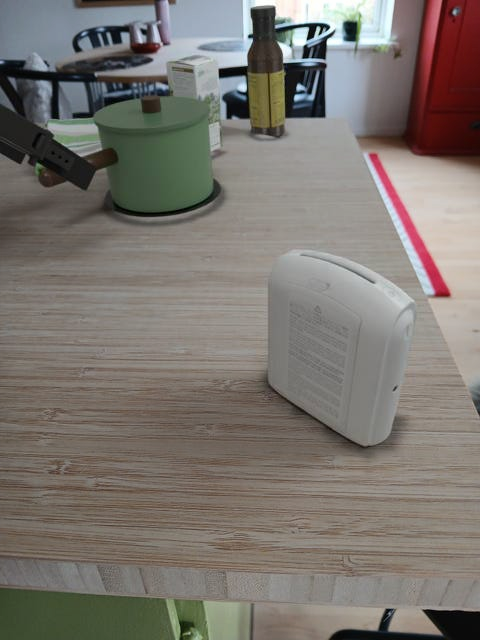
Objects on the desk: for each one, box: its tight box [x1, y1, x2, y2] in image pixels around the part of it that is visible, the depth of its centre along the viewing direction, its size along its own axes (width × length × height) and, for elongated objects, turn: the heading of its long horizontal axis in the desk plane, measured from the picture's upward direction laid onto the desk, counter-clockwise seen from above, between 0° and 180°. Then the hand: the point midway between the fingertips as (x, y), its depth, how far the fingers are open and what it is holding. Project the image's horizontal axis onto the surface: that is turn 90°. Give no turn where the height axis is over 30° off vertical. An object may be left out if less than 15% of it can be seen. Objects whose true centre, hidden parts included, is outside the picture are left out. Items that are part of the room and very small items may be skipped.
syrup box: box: [165, 54, 223, 153], centre depth 81 cm, size 6×6×14 cm
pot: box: [37, 94, 214, 212], centre depth 65 cm, size 24×15×12 cm, turn 138°
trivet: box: [104, 177, 222, 218], centre depth 71 cm, size 16×16×1 cm
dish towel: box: [34, 117, 102, 177], centre depth 88 cm, size 17×23×4 cm
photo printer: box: [267, 249, 418, 447], centre depth 35 cm, size 10×4×12 cm, turn 45°
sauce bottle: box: [246, 4, 286, 138], centre depth 87 cm, size 6×6×20 cm
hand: (55, 165), depth 58 cm, fingers open, 13 cm apart
